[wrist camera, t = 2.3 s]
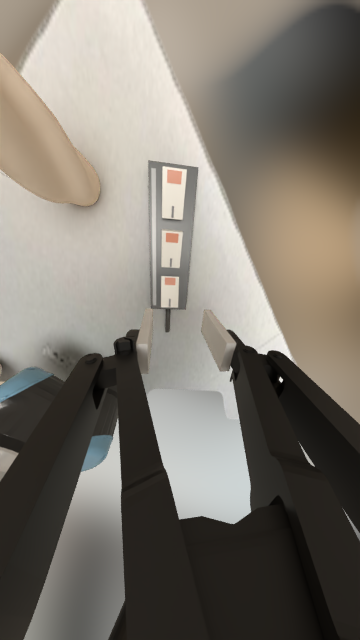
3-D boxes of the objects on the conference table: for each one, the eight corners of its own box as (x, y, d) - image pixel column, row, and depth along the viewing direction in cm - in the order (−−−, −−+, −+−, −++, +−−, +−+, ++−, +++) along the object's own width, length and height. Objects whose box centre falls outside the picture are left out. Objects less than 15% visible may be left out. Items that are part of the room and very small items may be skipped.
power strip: (152, 331, 45) (151, 337, 42) (149, 169, 30) (148, 159, 26) (181, 331, 46) (183, 337, 43) (194, 175, 31) (198, 167, 27)
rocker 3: (160, 306, 36) (160, 307, 35) (161, 276, 35) (161, 275, 33) (177, 307, 37) (178, 307, 35) (178, 277, 35) (179, 276, 34)
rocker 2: (161, 264, 34) (161, 267, 33) (161, 228, 29) (161, 230, 28) (179, 265, 34) (179, 268, 33) (182, 230, 30) (182, 232, 29)
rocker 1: (162, 216, 30) (161, 218, 29) (162, 167, 25) (162, 166, 24) (181, 218, 30) (182, 220, 29) (185, 170, 26) (187, 169, 25)
